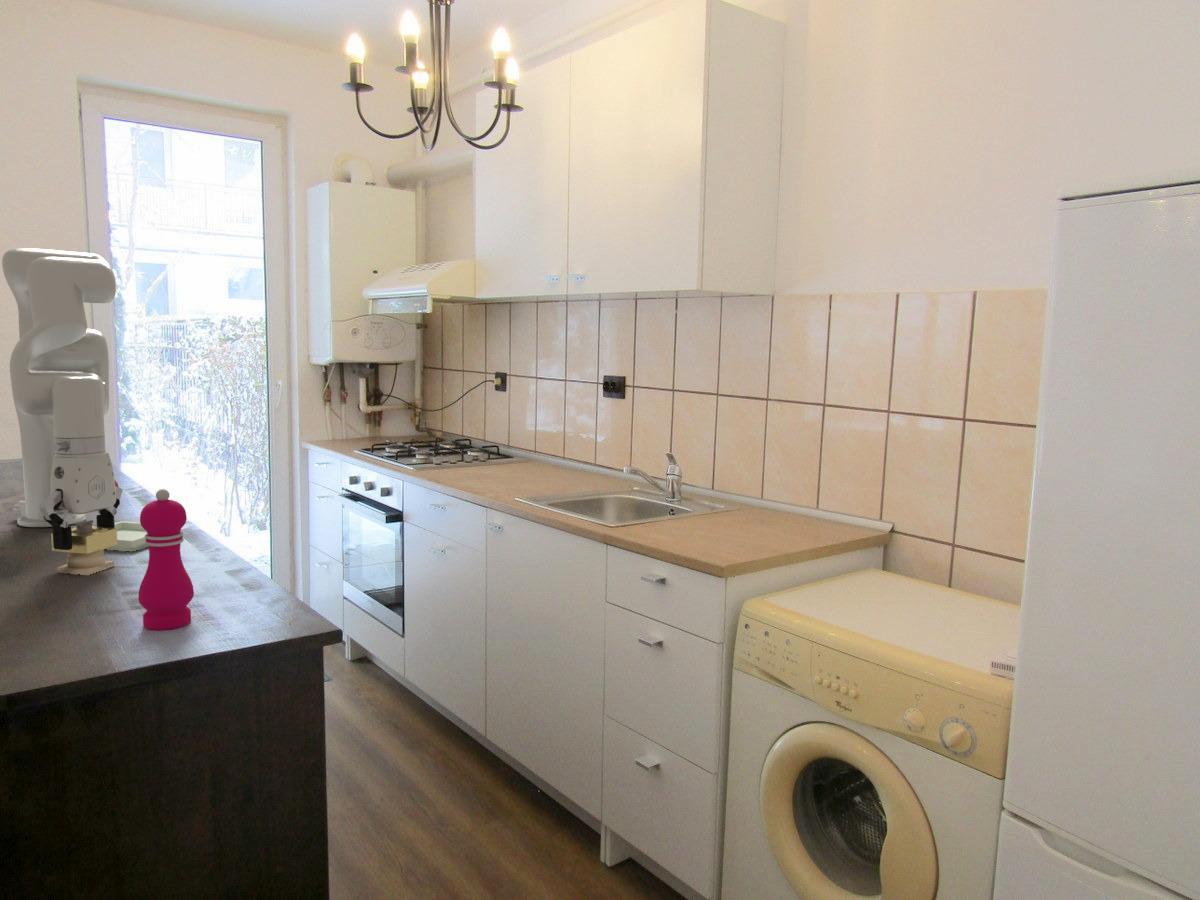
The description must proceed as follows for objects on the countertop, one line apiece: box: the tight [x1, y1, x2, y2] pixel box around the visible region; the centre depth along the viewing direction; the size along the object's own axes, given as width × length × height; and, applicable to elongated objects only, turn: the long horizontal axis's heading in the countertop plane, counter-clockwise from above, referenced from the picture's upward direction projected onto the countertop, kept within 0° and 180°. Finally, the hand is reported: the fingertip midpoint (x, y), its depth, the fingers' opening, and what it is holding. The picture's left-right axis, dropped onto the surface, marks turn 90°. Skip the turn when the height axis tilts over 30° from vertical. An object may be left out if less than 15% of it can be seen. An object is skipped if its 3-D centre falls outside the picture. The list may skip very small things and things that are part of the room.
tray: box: [105, 520, 182, 552], centre depth 169 cm, size 14×14×2 cm
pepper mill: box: [137, 488, 195, 631], centre depth 122 cm, size 7×7×20 cm
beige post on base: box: [57, 519, 115, 576], centre depth 149 cm, size 6×6×9 cm
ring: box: [50, 525, 117, 554], centre depth 149 cm, size 7×9×3 cm
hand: (85, 542), depth 148 cm, fingers open, 9 cm apart
